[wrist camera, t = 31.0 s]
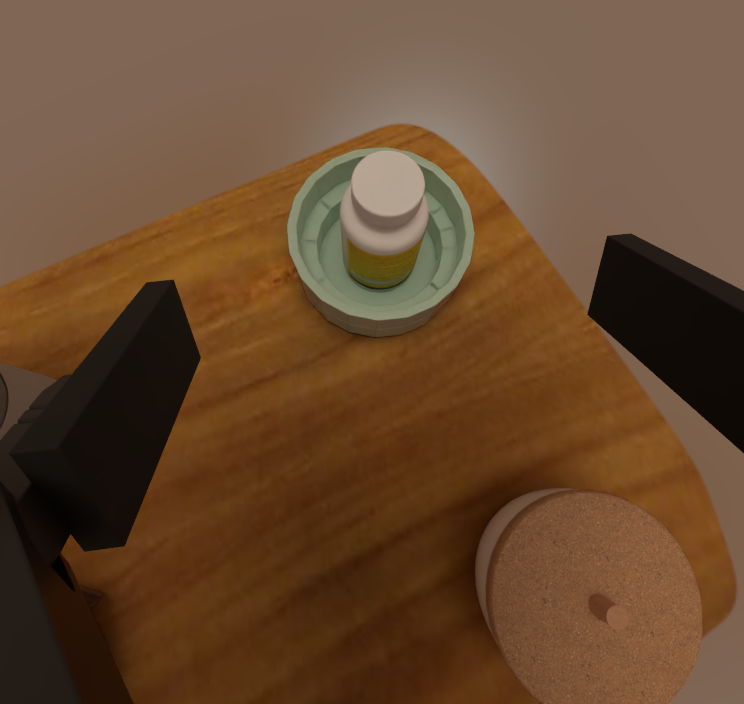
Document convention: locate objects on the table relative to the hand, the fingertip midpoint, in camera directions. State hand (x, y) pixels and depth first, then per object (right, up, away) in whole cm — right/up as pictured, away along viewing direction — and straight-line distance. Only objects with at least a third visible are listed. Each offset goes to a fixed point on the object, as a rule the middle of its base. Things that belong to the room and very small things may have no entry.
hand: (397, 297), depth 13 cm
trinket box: (+10, -16, +16) cm, 24 cm away
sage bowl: (0, +5, +19) cm, 20 cm away
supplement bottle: (0, +5, +19) cm, 20 cm away
